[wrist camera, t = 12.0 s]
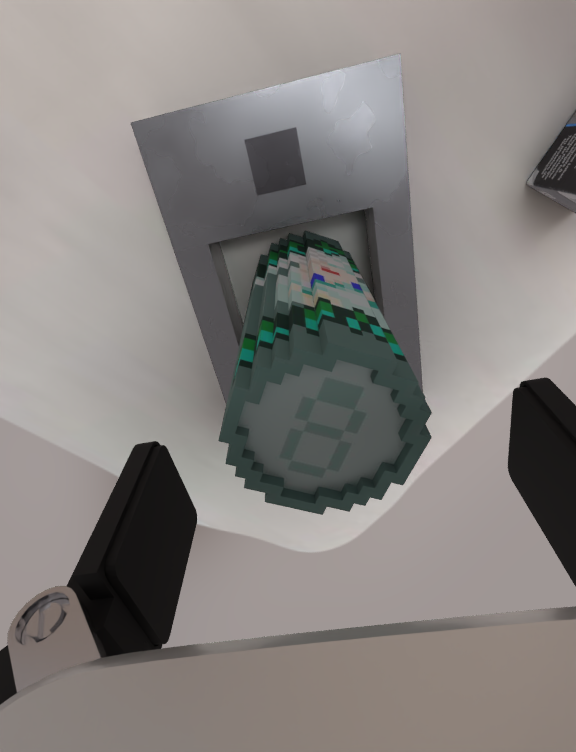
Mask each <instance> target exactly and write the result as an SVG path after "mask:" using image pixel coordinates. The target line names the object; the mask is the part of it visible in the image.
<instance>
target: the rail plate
mask: <svg viewBox="0 0 576 752" xmlns="http://www.w3.org/2000/svg"><path fill="white" fill-rule="evenodd" d="M131 126H132V129H133V131H134V134H135V137H136V140H137V143H138V146H139V149H140V152H141V155H142V158H143V161H144V164H145V167H146V170H147V173H148V176H149V179H150V181H151V184H152V187H153V190H154V193H155V196H156V199H157V202H158V205H159V208H160V211H161V214H162V217H163V220H164V223H165V226H166V228H167V231H168V234H169V237H170V240H171V243H172V246H173V249H174V252H175V255H176V258H177V261H178V264H179V267H180V270H181V273H182V276H183V278H184V281H185V284H186V287H187V290H188V293H189V296H190V299H191V302H192V305H193V308H194V311H195V314H196V317H197V320H198V323H199V326H200V328H201V331H202V334H203V337H204V340H205V343H206V346H207V349H208V352H209V355H210V358H211V361H212V364H213V367H214V370H215V373H216V375H217V378H218V381H219V384H220V387H221V390H222V393H223V396H224V399H225V402H226V404H227V400H228V395H229V391H230V386H231V381H232V377H233V372H234V367H235V363H236V358H237V354H238V349H239V344H240V340H241V335H242V330H243V324H242V320H241V317H240V313H239V310H238V306H237V303H236V299H235V296H234V292H233V289H232V285H231V282H230V278H229V275H228V271H227V268H226V264H225V261H224V257H223V254H222V250H221V247H220V243H219V241H224V240H228V239H233V238H237V237H242V236H246V235H251V234H255V233H260V232H264V231H269V230H273V229H278V228H282V227H287V226H291V225H296V224H300V223H305V222H309V221H314V220H318V219H322V218H327V217H331V216H336V215H340V214H345V213H349V212H354V211H358V210H363V209H364V210H365V219H366V227H367V236H368V244H369V253H370V262H371V270H372V279H373V287H374V296H375V302H376V304H377V306H378V308H379V309H380V311H381V313H382V315H383V317H384V319H385V321H386V322H387V324H388V326H389V328H390V330H391V332H392V334H393V335H394V337H395V339H396V341H397V343H398V345H399V347H400V348H401V350H402V352H403V354H404V356H405V358H406V360H407V361H408V363H409V365H410V367H411V369H412V371H413V373H414V375H415V376H416V378H417V380H418V382H419V383H418V385H419V387H420V389H421V391H422V392H423V389H422V374H421V359H420V344H419V328H418V313H417V298H416V283H415V267H414V252H413V237H412V222H411V207H410V191H409V176H408V161H407V146H406V131H405V115H404V100H403V85H402V70H401V54H397V55H393V56H389V57H385V58H381V59H377V60H374V61H370V62H366V63H362V64H358V65H354V66H350V67H346V68H342V69H338V70H334V71H331V72H327V73H323V74H319V75H315V76H311V77H307V78H303V79H299V80H295V81H292V82H288V83H284V84H280V85H276V86H272V87H268V88H264V89H260V90H256V91H253V92H249V93H245V94H241V95H237V96H233V97H229V98H225V99H221V100H217V101H213V102H210V103H206V104H202V105H198V106H194V107H190V108H186V109H182V110H178V111H174V112H171V113H167V114H163V115H159V116H155V117H151V118H147V119H143V120H139V121H135V122H131Z"/></svg>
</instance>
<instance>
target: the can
mask: <svg viewBox="0 0 576 752" xmlns="http://www.w3.org/2000/svg"><path fill="white" fill-rule="evenodd" d="M418 383H419V382H418V380H417V378H416V376H415V375H414V373H413V371H412V369H411V367H410V365H409V363H408V361H407V360H406V358H405V356H404V354H403V352H402V350H401V348H400V347H399V345H398V343H397V341H396V339H395V337H394V335H393V334H392V332H391V330H390V328H389V326H388V324H387V322H386V321H385V319H384V317H383V315H382V313H381V311H380V309H379V308H378V306H377V304H376V302H375V300H374V298H373V296H372V295H371V293H370V291H369V289H368V287H367V285H366V283H365V282H364V280H363V278H362V276H361V274H360V272H359V270H358V269H357V267H356V265H355V263H354V261H353V259H352V257H351V256H350V254H349V252H346V251H343V250H342V248H341V246H340V244H339V242H338V241H336V240H333V239H329V238H326V237H323V236H320V235H317V234H314V233H311V232H308V231H305V232H304V235H303V237H300V236H297V235H293V234H290V233H289V236H288V239H287V240H285V239H282V238H280V241H279V244H278V245H277V244H274V243H271V247H270V250H269V254H268V256H265V255H262V254H261V256H260V260H259V263H258V267H257V270H256V274H255V278H254V281H253V285H252V289H251V293H250V298H249V303H248V307H247V312H246V317H245V321H244V326H243V330H242V335H241V340H240V344H239V349H238V354H237V358H236V363H235V367H234V372H233V377H232V381H231V386H230V391H229V395H228V400H227V404H226V409H225V414H224V418H223V423H222V428H221V432H220V437H219V441H220V442H225V443H229V447H228V453H227V458H226V464H228V465H233V466H236V473H235V476H237V477H241V478H245V485H244V488H247V489H251V490H255V491H260V492H264V493H265V502H267V503H272V504H276V505H281V506H285V507H290V508H294V509H299V510H303V511H308V512H312V513H317V514H321V515H323V513H324V511H325V509H326V507H331V508H336V509H340V510H345V511H350V510H351V508H352V506H353V504H354V503H355V504H359V505H364V506H365V505H366V503H367V502H368V500H369V498H370V497H371V498H375V499H379V500H382V498H383V496H384V494H385V493H386V491H387V489H388V487H389V486H390V484H391V482H392V483H396V484H400V485H403V484H404V483H405V481H406V479H407V478H408V476H409V474H410V473H411V471H412V469H413V468H414V466H415V464H416V463H417V461H418V459H419V458H420V456H421V454H422V453H423V451H424V449H425V448H426V446H427V444H428V442H429V441H430V439H431V435H430V433H429V431H428V429H427V427H426V425H425V424H426V422H427V420H428V418H429V417H430V415H431V413H432V412H431V410H430V408H429V406H428V405H427V403H426V401H425V396H424V394H423V392H422V391H421V389H420V387H419V385H418Z"/></svg>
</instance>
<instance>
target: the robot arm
mask: <svg viewBox="0 0 576 752" xmlns="http://www.w3.org/2000/svg"><path fill="white" fill-rule="evenodd" d="M508 471H509V475H510V477H511V479H512V481H513V483H514V484H515V486H516V488H517V489H518V491H519V493H520V494H521V496H522V497H523V499H524V501H525V503H526V504H527V506H528V508H529V509H530V511H531V513H532V514H533V516H534V518H535V519H536V521H537V523H538V524H539V526H540V527H541V529H542V531H543V533H544V534H545V536H546V538H547V539H548V541H549V543H550V544H551V546H552V548H553V549H554V551H555V553H556V554H557V556H558V558H559V559H560V561H561V563H562V564H563V566H564V568H565V569H566V571H567V573H568V574H569V576H570V578H571V580H572V581H573V583H574V585H575V586H576V406H575V404H574V403H573V402H572V401H571V400H570V399H568V397H567V396H566V395H565V394H564V393H563V392H562V391H561V390H560V389H559V388H558V387H557V386H556V385H555V384H554V383H553V382H552V381H551V380H550V379H548V378H540V379H534V380H528V381H523V382H521V384H520V387H519V388H515V389H514V391H513V400H512V414H511V428H510V443H509V456H508ZM196 524H197V513H196V509H195V507H194V505H193V503H192V501H191V499H190V496H189V494H188V492H187V490H186V488H185V486H184V484H183V482H182V479H181V477H180V475H179V473H178V471H177V469H176V467H175V464H174V462H173V460H172V458H171V456H170V454H169V452H168V449H167V448H166V446H164V445H162V446H161V445H160V444H159V443H158V442H156V441H154V442H148V443H142V444H137V445H135V446H134V448H133V450H132V452H131V454H130V456H129V458H128V460H127V462H126V464H125V466H124V468H123V471H122V473H121V475H120V477H119V479H118V481H117V483H116V485H115V487H114V489H113V492H112V493H111V495H110V498H109V500H108V502H107V504H106V506H105V508H104V510H103V512H102V514H101V516H100V518H99V520H98V522H97V524H96V527H95V529H94V531H93V533H92V535H91V537H90V539H89V541H88V543H87V545H86V547H85V549H84V551H83V554H82V555H81V557H80V560H79V562H78V564H77V566H76V568H75V570H74V572H73V574H72V576H71V578H70V580H69V582H68V584H67V586H56V587H53V588H50V589H47V590H45V591H43V592H41V593H40V594H38V595H36V596H35V597H34V598H32V599H31V600H30V601H29V602H28V603H26V604H25V606H24V607H23V608H22V609H21V610H20V611H19V612H18V614H17V615H16V617H15V618H14V620H13V621H12V623H11V626H10V628H9V631H8V637H7V644H8V645H7V646H6V647H5V648H3V649H2V650H1V651H0V752H576V607H563V608H550V609H538V610H526V611H516V612H506V613H496V614H485V615H476V616H465V617H455V618H444V619H434V620H425V621H424V620H423V621H414V622H404V623H395V624H384V625H374V626H364V627H355V628H345V629H336V630H326V631H316V632H306V633H297V634H287V635H279V636H269V637H261V638H252V639H241V640H232V641H223V642H214V643H205V644H196V645H187V646H180V647H171V648H163V649H161V648H162V644H166V643H167V641H168V639H169V636H170V633H171V629H172V624H173V620H174V616H175V612H176V607H177V604H178V599H179V595H180V591H181V587H182V582H183V578H184V574H185V570H186V565H187V562H188V557H189V553H190V549H191V545H192V541H193V536H194V532H195V528H196Z"/></svg>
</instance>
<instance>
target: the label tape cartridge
mask: <svg viewBox="0 0 576 752" xmlns="http://www.w3.org/2000/svg"><path fill="white" fill-rule="evenodd" d="M527 185H528V186H530V187H531V188H533V189H535V190H537V191H538V192H540V193H542V194H543V195H545V196H547V197H549V198H550V199H552V200H554V201H555V202H557V203H559V204H561V205H562V206H564V207H566V208H568V209H569V210H571V211H573V212H575V213H576V112H575V114H574V115H573V116H572V118H571V119H570V121H569V122H568V123H567V125H566V126H565V128H564V129H563V131H562V132H561V134H560V135H559V136H558V138H557V139H556V141H555V142H554V144H553V145H552V146H551V148H550V149H549V151H548V152H547V154H546V155H545V156H544V158H543V159H542V161H541V162H540V164H539V165H538V167H537V168H536V169H535V171H534V172H533V174H532V175H531V177H530V178H529V180H528V181H527Z"/></svg>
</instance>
